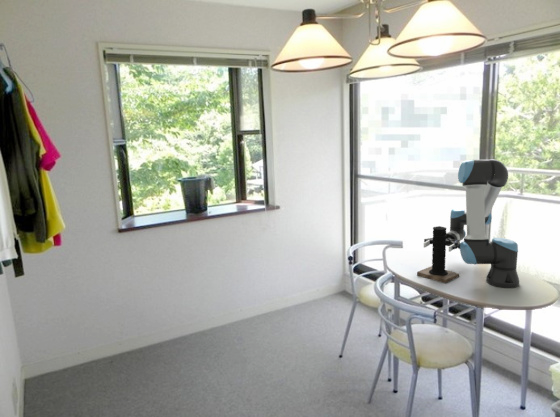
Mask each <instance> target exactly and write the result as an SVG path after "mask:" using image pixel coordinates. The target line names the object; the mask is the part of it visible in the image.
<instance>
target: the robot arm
mask: <svg viewBox="0 0 560 417" xmlns="http://www.w3.org/2000/svg"><path fill="white" fill-rule="evenodd" d="M457 179H458V182H459V183H460V184H462V187H463V188H464V189H465V207H466V208H465V209H466V211H465V209H463V208H453V209H451V210H450V219H449V220H450V221H449V222H450V224H449V225H450V226H449V231H448V232H446V246H445V247H448V252H452V251H453V250H457V249H458V250H459V253H460V256H461V259H462V260H463V262H464V263H465V264H468V265H490V268H489V270H488V273H487V275H486V283H487V284H489V285H491V286H494V287H497V288H498V287H499V288H506V289H513V288H518V287H519V286H520V282H521V281H520V278H519V274H518V272H517V266H518V252H519V245H518V243H517V242H516V241H514V240H511V239H508V238H503V237H493V238H492V239H491V241H490V240H489V238H490V237H488V236H487V235H486V225H490V224H491V223H492V218H493V217H492V213H491V211H492V209H493V208H494V205H495V203H496V201H497V198H498V196H499V194H500V192H501V190H502V188H503V187H505V186H506V184H507V182H508V180H509V170H508V168H507V166H506V165H505V164H504V163H503V162H501V161H500V160H498V159H493V158H491V159H467V160H464V161H462V162H461V164H459V168H458V173H457ZM465 226H466V230H465V229H464V228H465ZM423 240H424V241H423V248H427V247H428V246H430V245H433V237H428V238H424V239H423Z"/></svg>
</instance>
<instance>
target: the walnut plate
mask: <svg viewBox="0 0 560 417" xmlns="http://www.w3.org/2000/svg"><path fill="white" fill-rule="evenodd" d="M431 269H432V265H431V266H428V267H425V268H424V269H421V270H419V271H417V272H416V276H419V277H422V278H425V279H430V280H432V281H435V282H438V283H443V284H447V283H449V282H452V281H454V280H456V279H459V277H460V272H455V271H452V270H451V271H450V270H447V269H445V271H447V272H448V274H447V275H444V276H438V275H432V274H430V273H429V270H431Z"/></svg>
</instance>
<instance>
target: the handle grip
mask: <svg viewBox="0 0 560 417" xmlns="http://www.w3.org/2000/svg"><path fill="white" fill-rule="evenodd" d="M446 233H447V227H444V226H440V225H439V226H433V227H432V238H433V244H432V252H431V253H432V257H431V261H432V262H431V264H432V265H431V266H432V269H431V270H429V273H430V274H432V275H438V276H444V275H447V274H448V272H447V271H445V270H446V259H447V258H446V254H447V253H446V252H447V251H446V250H447V249H446V248H447V246H446Z"/></svg>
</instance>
